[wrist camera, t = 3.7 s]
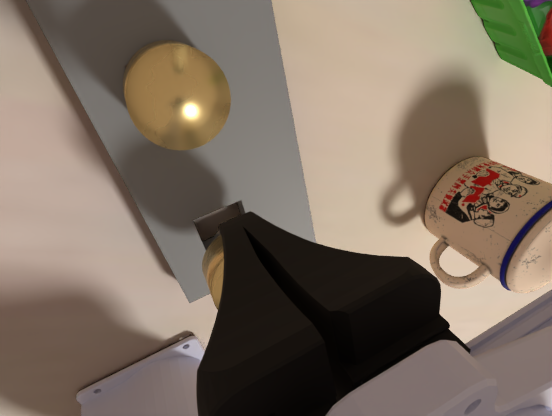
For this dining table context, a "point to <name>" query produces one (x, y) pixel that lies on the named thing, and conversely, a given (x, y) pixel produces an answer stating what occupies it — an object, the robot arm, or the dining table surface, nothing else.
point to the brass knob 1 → (176, 95)
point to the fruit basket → (520, 33)
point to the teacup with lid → (493, 224)
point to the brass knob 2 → (214, 267)
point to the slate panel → (207, 158)
